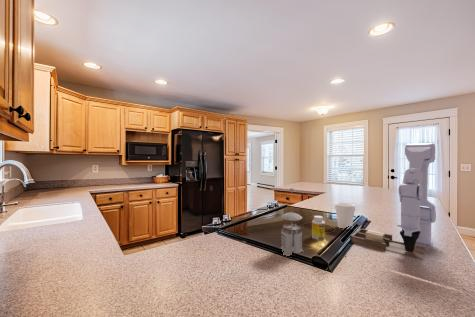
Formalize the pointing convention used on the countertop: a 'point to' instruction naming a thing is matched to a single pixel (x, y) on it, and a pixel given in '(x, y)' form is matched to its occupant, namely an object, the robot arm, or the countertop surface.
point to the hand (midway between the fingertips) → (410, 250)
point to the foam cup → (344, 214)
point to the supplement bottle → (318, 228)
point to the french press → (291, 234)
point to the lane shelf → (385, 244)
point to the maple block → (380, 237)
